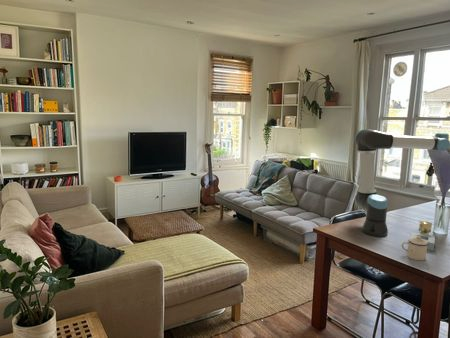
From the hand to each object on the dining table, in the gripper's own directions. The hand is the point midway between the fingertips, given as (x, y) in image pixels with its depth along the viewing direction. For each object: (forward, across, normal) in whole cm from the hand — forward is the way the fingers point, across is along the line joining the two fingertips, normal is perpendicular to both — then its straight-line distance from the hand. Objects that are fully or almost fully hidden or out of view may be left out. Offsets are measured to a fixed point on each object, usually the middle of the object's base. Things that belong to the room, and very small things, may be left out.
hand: (434, 188), depth 223 cm
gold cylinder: (+26, -25, +17) cm, 40 cm away
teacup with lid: (+26, -51, +37) cm, 68 cm away
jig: (+26, -35, +24) cm, 50 cm away
